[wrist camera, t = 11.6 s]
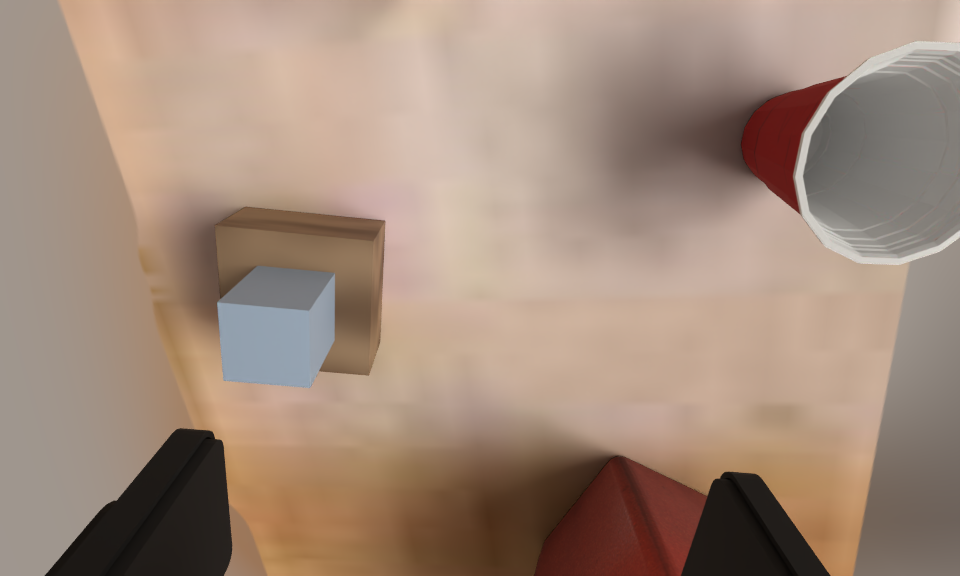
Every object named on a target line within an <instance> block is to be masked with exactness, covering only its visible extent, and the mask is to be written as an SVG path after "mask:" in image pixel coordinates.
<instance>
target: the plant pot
mask: <svg viewBox="0 0 960 576" xmlns="http://www.w3.org/2000/svg"><path fill="white" fill-rule="evenodd" d="M706 499H707V496H705V495H703V494H701V493H699V492H697V491H695V490H693V489H691V488H689V487H686V486H684V485H682V484H680V483H678V482H676V481H674V480H672V479H670V478H668V477H665V476H663V475H661V474H659V473H657V472H655V471H653V470H651V469H649V468H647V467H645V466H643V465H640V464H638V463H636V462H634V461H632V460H630V459H628V458H626V457H615V458H613V459H611V460H610V461H609V462H608V463H607V464H606V465H605V467H604V468H603V469H602V470H601V472H600V473H599V474H598V475H597V477H596V478H595V479H594V480H593V482H592V483H591V484H590V485H589V487H588V488H587V489H586V490H585V492H584V493H583V494H582V495H581V497H580V498H579V499H578V500H577V502H576V503H575V504H574V505H573V507H572V508H571V509H570V510H569V512H568V513H567V514H566V515H565V517H564V518H563V519H562V520H561V522H560V523H559V524H558V525H557V527H556V528H555V529H554V530H553V532H552V533H551V534H550V535H549V537H548V538H547V539H546V540H545V542H544V544H543V547H542V550H541V553H540V556H539V559H538V563H537V567H536V570H535V574H534V576H681V573H682V570H683V567H684V564H685V562H686V559H687V556H688V553H689V550H690V547H691V544H692V541H693V538H694V535H695V532H696V529H697V526H698V523H699V520H700V517H701V514H702V511H703V508H704V505H705V502H706Z"/></svg>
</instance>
